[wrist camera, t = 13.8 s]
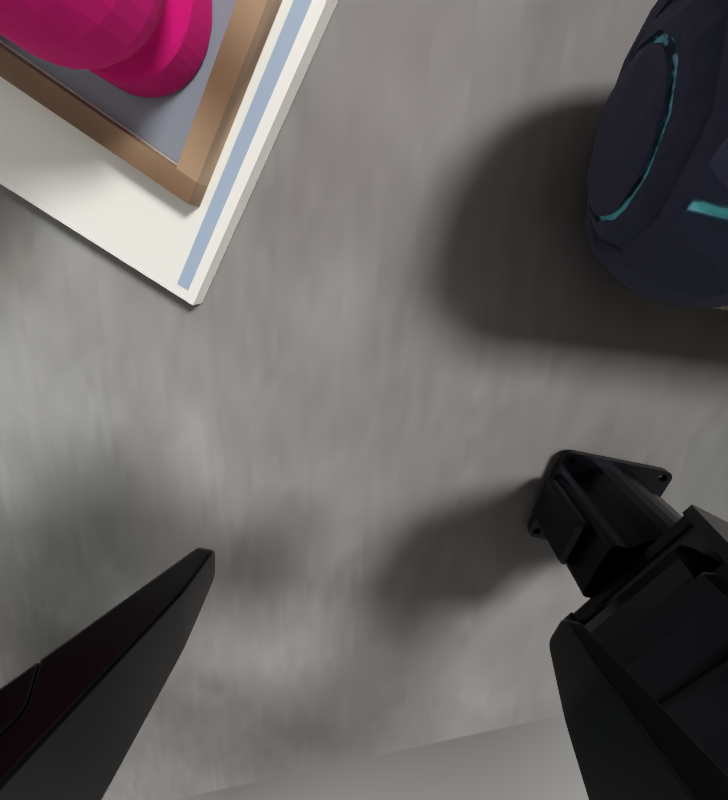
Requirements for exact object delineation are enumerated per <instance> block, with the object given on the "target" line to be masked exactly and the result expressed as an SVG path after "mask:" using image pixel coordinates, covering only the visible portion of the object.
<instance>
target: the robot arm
mask: <svg viewBox="0 0 728 800" xmlns="http://www.w3.org/2000/svg"><path fill="white" fill-rule="evenodd" d="M570 457H573V458H572V459H571V460H569V461H567V460H568V458H570ZM660 476H661V477H660ZM659 477H660V478H659ZM671 479H672V475H671V474H670V473H669V472H668V471H667V470H666V469H664V468H660V467H655V466H650V465H645V464H640V463H635V462H630V461H625V460H620V459H615V458H610V457H605V456H600V455H594V454H589V453H584V452H579V451H574V450H567V451H564V452H563V453H562V454H561V455H560V457H559V459H558V462H557V464H556V466H555V468H554V470H553V472H552V474H551V476H550V479H549V480H548V481H547V482H546V484H545V486H544V488H543V490H542V492H541V494H540V497H539V499H538V501H537V503H536V505H535V507H534V509H533V515H532V517H531V519H530V521H529V523H528V526H527V529H528V531H529V533H530V535H531V536H533V537H537V538H543V539H547V540H548V542H549V543H550V545H551V547H552V549H553V551H554V553H555V554H556V556H557V558H558V560H559V561H560V563H561V564H565V565H567V567H568V569H569V570H570V572H571V574H572V576H573V578H574V579H575V581H576V583H577V585H578V587H579V588H580V590H581V592H582V594H583V595H584V596H585V597H589V598H590V599H589V600H588V601H587V602H586V603H585V604H584V605H582V606H581V607H580V608H579V609H578V610H577V611H576V612H575V613H570V614H569V615H568V616H567V617H565V618H564V620H562V621H561V622H560V624H559V625H558V627H557V629H556V630H555V632H554V634H553V635H552V637H551V639H550V652H551V657H552V662H553V666H554V671H555V676H556V680H557V685H558V690H559V694H560V699H561V704H562V708H563V713H564V717H565V721H566V724H567V728H568V731H569V735H570V738H571V742H572V745H573V748H574V752H575V754H576V758H577V761H578V765H579V768H580V771H581V775H582V778H583V781H584V784H585V787H586V791H587V794H588V797H589V800H728V522H726V521H724V520H722V519H720V518H718V517H716V516H714V515H712V514H710V513H708V512H706V511H704V510H702V509H700V508H698V507H696V506H694V505H691V506H690V507H689V508H688V509H686V510H685V511H684V512H683V514H684V516H683V517H682V516H681V515H679V514H678V513H677V512H676V511H675V510H674V509H673V508H672V507H671V506H670V505H668V504H667V503H666V502H665V501H664V500H663V499H662V498H661V495H662V494H663V492H664V490H665V489H666V487H667V486H668V484H669V483H670V481H671ZM536 528H538V529H536ZM534 529H536V530H534ZM214 574H215V552H214V551H213V550H211V549H206V548H197V549H195V550H194V551H192V552H191V553H189V554H188V555H187V556H185V557H184V558H183V559H181V560H180V561H178V562H177V563H176V564H174V565H173V566H171V567H170V568H169V569H167V570H166V571H164V572H163V573H162V574H160V575H159V576H157V577H156V578H155V579H153V580H152V581H150V582H149V583H148V584H146V585H145V586H143V587H142V588H141V589H139V590H138V591H136V592H135V593H134V594H132V595H131V596H129V597H128V598H127V599H125V600H124V601H123V602H121V603H120V604H118V605H117V606H116V607H114V608H113V609H111V610H110V611H109V612H107V613H106V614H104V615H103V616H102V617H100V618H99V619H97V620H96V621H95V622H93V623H92V624H90V625H89V626H88V627H86V628H85V629H83V630H82V631H81V632H79V633H78V634H76V635H75V636H74V637H72V638H71V639H69V640H68V641H67V642H65V643H64V644H62V645H61V646H60V647H58V648H57V649H56V650H54V651H53V652H51V653H50V654H49V655H47V656H46V657H44V658H43V659H42V660H41V661H40V664H39V663H36V664H34V665H33V666H32V667H30V668H29V669H27V670H26V671H25V672H23V673H22V674H20V675H19V676H18V677H16V678H15V679H13V680H12V681H10V682H9V683H8V684H6V685H5V686H3V687H2V688H0V800H102V798H103V796H104V794H105V792H106V791H107V789H108V787H109V785H110V783H111V781H112V780H113V778H114V776H115V774H116V772H117V770H118V769H119V767H120V765H121V763H122V761H123V759H124V757H125V756H126V754H127V752H128V750H129V748H130V746H131V745H132V743H133V741H134V739H135V737H136V735H137V734H138V732H139V730H140V728H141V726H142V724H143V723H144V721H145V719H146V717H147V715H148V713H149V712H150V710H151V708H152V706H153V704H154V702H155V701H156V699H157V697H158V695H159V693H160V691H161V690H162V688H163V686H164V684H165V682H166V680H167V679H168V677H169V675H170V673H171V671H172V669H173V668H174V666H175V664H176V662H177V660H178V658H179V656H180V655H181V653H182V651H183V649H184V647H185V645H186V642H187V640H188V638H189V636H190V633H191V631H192V629H193V626H194V624H195V622H196V619H197V617H198V615H199V612H200V610H201V608H202V605H203V603H204V601H205V598H206V596H207V594H208V591H209V589H210V586H211V584H212V582H213V578H214Z"/></svg>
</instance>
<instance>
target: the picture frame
mask: <svg viewBox="0 0 728 800" xmlns="http://www.w3.org/2000/svg"><path fill="white" fill-rule="evenodd" d="M236 1H237V0H212V30H211V36H210V41H209V46H208V49H207V53H206V56H205V57H204V59H203V61H202V63H201V65H200V67H199V68H198V70H197V72H196V74H195V75H194V77H193V78H192V79H191V80H190V81H189V82H187V83H186V84H185V85H184V86H183V87H181V88H180V89H178V90H177V91H175V92H174V93H171V94H167V95H164V96H161V97H151V98H148V97H140V96H136V95H132V94H130V93H127V92H125V91H123V90H121V89H119V88H117V87H115V86H114V85H112V84H111V83H109V82H107V81H106V80H104V79H102V78H101V77H99V76H97V75H96V74H94V73H93V72H91V71H89V70H88V69H71V68H67V67H62V66H58V65H55V64H53V63H50V62H48V61H45V60H43V59H41V58H38V57H36V56H34V55H32V54H30V53H29V52H27V51H25V50H24V49H22V48H20V47H19V46H17V45H16V44H14V43H12V42H11V41H9V40H8V39H6V38H5V37H3V36H2V35H0V43H2V44H3V45H5V46H6V47H7V48H9V49H10V50H12V51H13V52H15V53H16V54H17V55H19V56H20V57H22V58H23V59H25V60H26V61H28V62H29V63H30V64H32V65H33V66H35V67H36V68H38V69H39V70H41V71H42V72H43V73H45V74H46V75H48V76H49V77H51V78H52V79H54V80H55V81H56V82H58V83H59V84H61V85H62V86H64V87H65V88H67V89H68V90H69V91H71V92H72V93H74V94H75V95H77V96H78V97H79V98H81V99H82V100H84V101H85V102H87V103H88V104H90V105H91V106H92V107H94V108H95V109H97V110H98V111H100V112H101V113H103V114H104V115H105V116H107V117H108V118H110V119H111V120H113V121H114V122H116V123H117V124H118V125H120V126H121V127H123V128H124V129H126V130H127V131H129V132H130V133H131V134H133V135H134V136H136V137H137V138H139V139H140V140H141V141H143V142H144V143H146V144H147V145H149V146H150V147H152V148H153V149H154V150H156V151H157V152H159V153H160V154H162V155H163V156H165V157H166V158H167V159H169V160H170V161H172V162H173V163H175V164H176V165H177V164H178V162H179V159H180V156H181V153H182V151H183V148H184V145H185V142H186V140H187V137H188V134H189V131H190V128H191V126H192V123H193V120H194V117H195V115H196V112H197V109H198V106H199V104H200V101H201V98H202V95H203V93H204V90H205V87H206V84H207V81H208V79H209V76H210V73H211V70H212V68H213V65H214V62H215V59H216V57H217V54H218V51H219V48H220V45H221V43H222V40H223V37H224V34H225V32H226V29H227V26H228V23H229V21H230V18H231V15H232V12H233V10H234V7H235V4H236ZM337 2H338V0H283V1H282V3H281V6H280V8H279V11H278V13H277V16H276V18H275V21H274V23H273V25H272V28H271V30H270V33H269V35H268V38H267V40H266V43H265V45H264V48H263V50H262V53H261V55H260V58H259V60H258V63H257V65H256V68H255V70H254V73H253V75H252V78H251V80H250V83H249V85H248V88H247V90H246V93H245V95H244V98H243V100H242V103H241V105H240V108H239V110H238V113H237V115H236V118H235V120H234V123H233V125H232V128H231V130H230V133H229V135H228V138H227V140H226V143H225V145H224V148H223V150H222V153H221V155H220V158H219V160H218V163H217V165H216V167H215V170H214V172H213V175H212V177H211V180H210V182H209V185H208V187H207V190H206V192H205V195H204V197H203V200H202V202H201V205H200V207H198V206H194V205H190V204H187V203H186V202H184V201H183V200H182V199H180V198H179V197H177V196H176V195H174V194H173V193H171V192H170V191H168V190H167V189H165V188H164V187H162V186H161V185H159V184H158V183H156V182H155V181H154V180H152V179H151V178H149V177H148V176H146V175H145V174H143V173H142V172H140V171H139V170H137V169H136V168H134V167H133V166H131V165H130V164H128V163H127V162H126V161H124V160H123V159H121V158H120V157H118V156H117V155H115V154H114V153H112V152H111V151H109V150H108V149H106V148H105V147H103V146H102V145H100V144H99V143H98V142H96V141H95V140H93V139H92V138H90V137H89V136H87V135H86V134H84V133H83V132H81V131H80V130H78V129H77V128H75V127H74V126H73V125H71V124H70V123H68V122H67V121H65V120H64V119H62V118H61V117H59V116H58V115H56V114H55V113H53V112H52V111H50V110H49V109H47V108H46V107H45V106H43V105H42V104H40V103H39V102H37V101H36V100H34V99H33V98H31V97H30V96H28V95H27V94H25V93H24V92H22V91H21V90H19V89H18V88H17V87H15V86H14V85H12V84H11V83H9V82H8V81H6V80H5V79H3V78H2V77H0V184H2V185H3V186H5V187H6V188H8V189H9V190H11V191H13V192H14V193H16V194H17V195H19V196H21V197H22V198H24V199H25V200H27V201H28V202H30V203H32V204H33V205H35V206H36V207H38V208H40V209H41V210H43V211H44V212H46V213H47V214H49V215H51V216H52V217H54V218H55V219H57V220H59V221H60V222H62V223H63V224H65V225H66V226H68V227H70V228H71V229H73V230H74V231H76V232H78V233H79V234H81V235H82V236H84V237H85V238H87V239H89V240H90V241H92V242H93V243H95V244H96V245H98V246H100V247H101V248H103V249H104V250H106V251H108V252H109V253H111V254H112V255H114V256H115V257H117V258H119V259H120V260H122V261H123V262H125V263H127V264H128V265H130V266H131V267H133V268H134V269H136V270H138V271H139V272H141V273H142V274H144V275H146V276H147V277H149V278H150V279H152V280H153V281H155V282H157V283H158V284H160V285H161V286H163V287H165V288H166V289H168V290H169V291H171V292H172V293H174V294H176V295H177V296H179V297H180V298H182V299H184V300H185V301H187V302H188V303H190V304H191V305H196V304H200V303H202V302H203V300H204V298H205V296H206V293H207V291H208V289H209V287H210V285H211V282H212V280H213V278H214V276H215V273H216V271H217V269H218V267H219V265H220V262H221V260H222V258H223V256H224V253H225V251H226V249H227V247H228V245H229V242H230V240H231V238H232V236H233V233H234V231H235V229H236V227H237V225H238V222H239V220H240V218H241V216H242V213H243V211H244V209H245V207H246V205H247V202H248V200H249V198H250V196H251V193H252V191H253V189H254V187H255V185H256V182H257V180H258V178H259V176H260V173H261V171H262V169H263V167H264V165H265V162H266V160H267V158H268V156H269V153H270V151H271V149H272V147H273V145H274V142H275V140H276V138H277V136H278V133H279V131H280V129H281V127H282V125H283V122H284V120H285V118H286V116H287V113H288V111H289V109H290V107H291V105H292V102H293V100H294V98H295V96H296V93H297V91H298V89H299V87H300V85H301V82H302V80H303V78H304V76H305V73H306V71H307V69H308V67H309V65H310V62H311V60H312V58H313V56H314V53H315V51H316V49H317V47H318V45H319V42H320V40H321V38H322V36H323V34H324V31H325V29H326V27H327V25H328V22H329V20H330V18H331V16H332V14H333V11H334V9H335V7H336V5H337Z"/></svg>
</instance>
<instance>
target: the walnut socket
mask: <svg viewBox="0 0 728 800" xmlns="http://www.w3.org/2000/svg"><path fill="white" fill-rule="evenodd" d="M282 1H283V0H237V1H236V4H235V7H234V10H233V12H232V15H231V18H230V21H229V23H228V26H227V29H226V32H225V34H224V37H223V40H222V43H221V45H220V48H219V51H218V54H217V57H216V59H215V62H214V65H213V68H212V70H211V73H210V76H209V79H208V81H207V84H206V87H205V90H204V93H203V95H202V98H201V101H200V104H199V106H198V109H197V112H196V115H195V117H194V120H193V123H192V126H191V128H190V131H189V134H188V137H187V140H186V142H185V145H184V148H183V151H182V153H181V156H180V159H179V162H178V164H177V165H176V164H175V163H173V162H172V161H170V160H169V159H167V158H166V157H165V156H163V155H162V154H160V153H159V152H157V151H156V150H154V149H153V148H152V147H150V146H149V145H147V144H146V143H144V142H143V141H141V140H140V139H139V138H137V137H136V136H134V135H133V134H131V133H130V132H129V131H127V130H126V129H124V128H123V127H121V126H120V125H118V124H117V123H116V122H114V121H113V120H111V119H110V118H108V117H107V116H105V115H104V114H103V113H101V112H100V111H98V110H97V109H95V108H94V107H92V106H91V105H90V104H88V103H87V102H85V101H84V100H82V99H81V98H79V97H78V96H77V95H75V94H74V93H72V92H71V91H69V90H68V89H67V88H65V87H64V86H62V85H61V84H59V83H58V82H56V81H55V80H54V79H52V78H51V77H49V76H48V75H46V74H45V73H43V72H42V71H41V70H39V69H38V68H36V67H35V66H33V65H32V64H30V63H29V62H28V61H26V60H25V59H23V58H22V57H20V56H19V55H17V54H16V53H15V52H13V51H12V50H10V49H9V48H7V47H6V46H5V45H3V44H2V43H0V77H2V78H3V79H5V80H6V81H8V82H9V83H11V84H12V85H14V86H15V87H17V88H18V89H19V90H21V91H22V92H24V93H25V94H27V95H28V96H30V97H31V98H33V99H34V100H36V101H37V102H39V103H40V104H42V105H43V106H45V107H46V108H47V109H49V110H50V111H52V112H53V113H55V114H56V115H58V116H59V117H61V118H62V119H64V120H65V121H67V122H68V123H70V124H71V125H73V126H74V127H75V128H77V129H78V130H80V131H81V132H83V133H84V134H86V135H87V136H89V137H90V138H92V139H93V140H95V141H96V142H98V143H99V144H100V145H102V146H103V147H105V148H106V149H108V150H109V151H111V152H112V153H114V154H115V155H117V156H118V157H120V158H121V159H123V160H124V161H126V162H127V163H128V164H130V165H131V166H133V167H134V168H136V169H137V170H139V171H140V172H142V173H143V174H145V175H146V176H148V177H149V178H151V179H152V180H154V181H155V182H156V183H158V184H159V185H161V186H162V187H164V188H165V189H167V190H168V191H170V192H171V193H173V194H174V195H176V196H177V197H179V198H180V199H182V200H183V201H184V202H186V203H187V204H190V205H194V206H198V207H200V205H201V202H202V200H203V197H204V195H205V192H206V190H207V187H208V185H209V182H210V180H211V177H212V175H213V172H214V170H215V167H216V165H217V163H218V160H219V158H220V155H221V153H222V150H223V148H224V145H225V143H226V140H227V138H228V135H229V133H230V130H231V128H232V125H233V123H234V120H235V118H236V115H237V113H238V110H239V108H240V105H241V103H242V100H243V98H244V95H245V93H246V90H247V88H248V85H249V83H250V80H251V78H252V75H253V73H254V70H255V68H256V65H257V63H258V60H259V58H260V55H261V53H262V50H263V48H264V45H265V43H266V40H267V38H268V35H269V33H270V30H271V28H272V25H273V23H274V21H275V18H276V16H277V13H278V11H279V8H280V6H281V3H282Z"/></svg>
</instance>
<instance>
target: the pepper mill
mask: <svg viewBox="0 0 728 800" xmlns="http://www.w3.org/2000/svg"><path fill="white" fill-rule="evenodd" d="M211 30H212V0H0V35H2V36H3V37H5V38H6V39H8V40H9V41H11V42H12V43H14V44H16V45H17V46H19V47H20V48H22V49H24V50H25V51H27V52H29V53H30V54H32V55H34V56H36V57H38V58H41V59H43V60H45V61H48V62H50V63H53V64H55V65H58V66H62V67H67V68H71V69H88V70H89V71H91V72H93V73H94V74H96V75H97V76H99V77H101V78H102V79H104V80H106V81H107V82H109V83H111V84H112V85H114V86H115V87H117V88H119V89H121V90H123V91H125V92H127V93H130V94H132V95H136V96H140V97H148V98H151V97H161V96H164V95H167V94H171V93H174V92H175V91H177V90H178V89H180V88H181V87H183V86H184V85H185V84H186V83H187V82H189V81H190V80H191V79H192V78H193V77H194V75H195V74H196V72H197V70H198V68H199V67H200V65H201V63H202V61H203V59H204V57H205V56H206V53H207V49H208V46H209V41H210V36H211Z"/></svg>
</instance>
